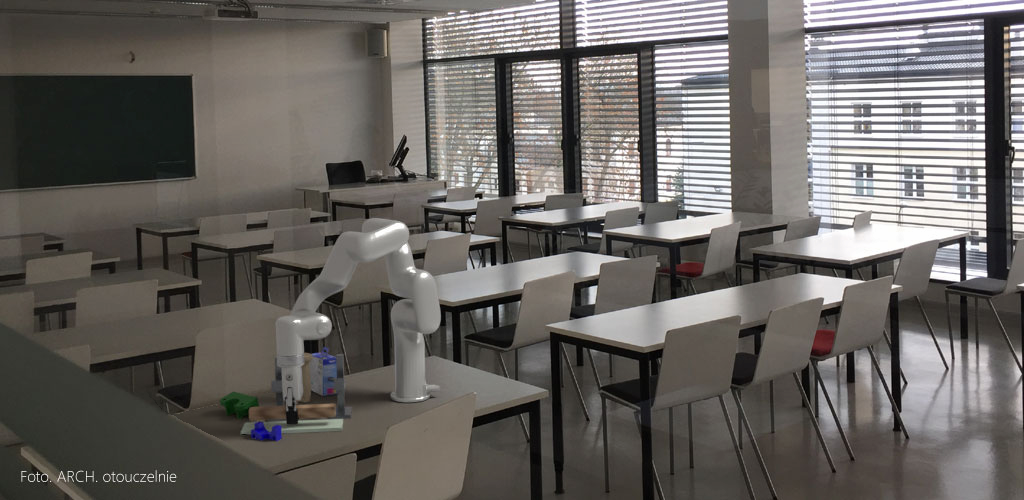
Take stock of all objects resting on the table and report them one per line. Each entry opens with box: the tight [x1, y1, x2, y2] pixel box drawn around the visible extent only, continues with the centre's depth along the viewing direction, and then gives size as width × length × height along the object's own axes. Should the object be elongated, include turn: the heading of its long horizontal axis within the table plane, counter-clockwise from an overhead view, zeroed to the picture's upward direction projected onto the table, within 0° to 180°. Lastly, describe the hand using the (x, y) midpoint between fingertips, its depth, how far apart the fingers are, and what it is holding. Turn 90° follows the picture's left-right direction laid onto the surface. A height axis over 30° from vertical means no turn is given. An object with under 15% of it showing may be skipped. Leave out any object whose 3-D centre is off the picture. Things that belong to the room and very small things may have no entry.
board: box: [240, 418, 344, 435], centre depth 271 cm, size 28×8×1 cm, turn 97°
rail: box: [248, 403, 336, 421], centre depth 270 cm, size 24×3×3 cm, turn 97°
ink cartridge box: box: [309, 346, 337, 397], centre depth 307 cm, size 10×6×14 cm, turn 38°
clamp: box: [219, 391, 260, 419], centre depth 283 cm, size 12×6×9 cm, turn 47°
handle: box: [299, 352, 313, 403], centre depth 296 cm, size 5×6×15 cm
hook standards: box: [267, 353, 353, 422], centre depth 281 cm, size 24×9×18 cm, turn 97°
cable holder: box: [250, 420, 283, 442], centre depth 262 cm, size 8×4×4 cm, turn 62°
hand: (293, 421), depth 271 cm, fingers closed on rail, 3 cm apart
